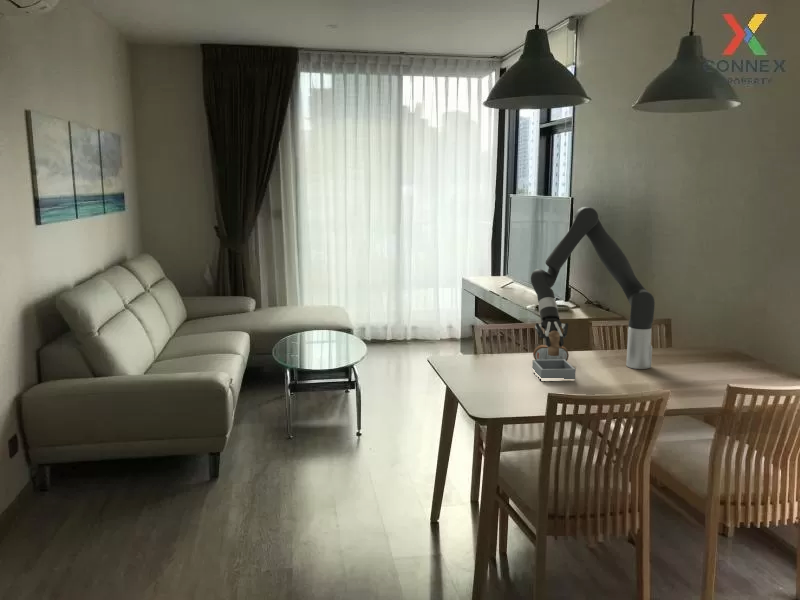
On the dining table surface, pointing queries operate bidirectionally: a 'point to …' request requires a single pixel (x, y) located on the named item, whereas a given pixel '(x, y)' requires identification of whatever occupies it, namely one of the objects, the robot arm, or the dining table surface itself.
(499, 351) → the dining table surface
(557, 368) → the bin
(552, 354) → the pepper mill
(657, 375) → the dining table surface
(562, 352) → the tin
